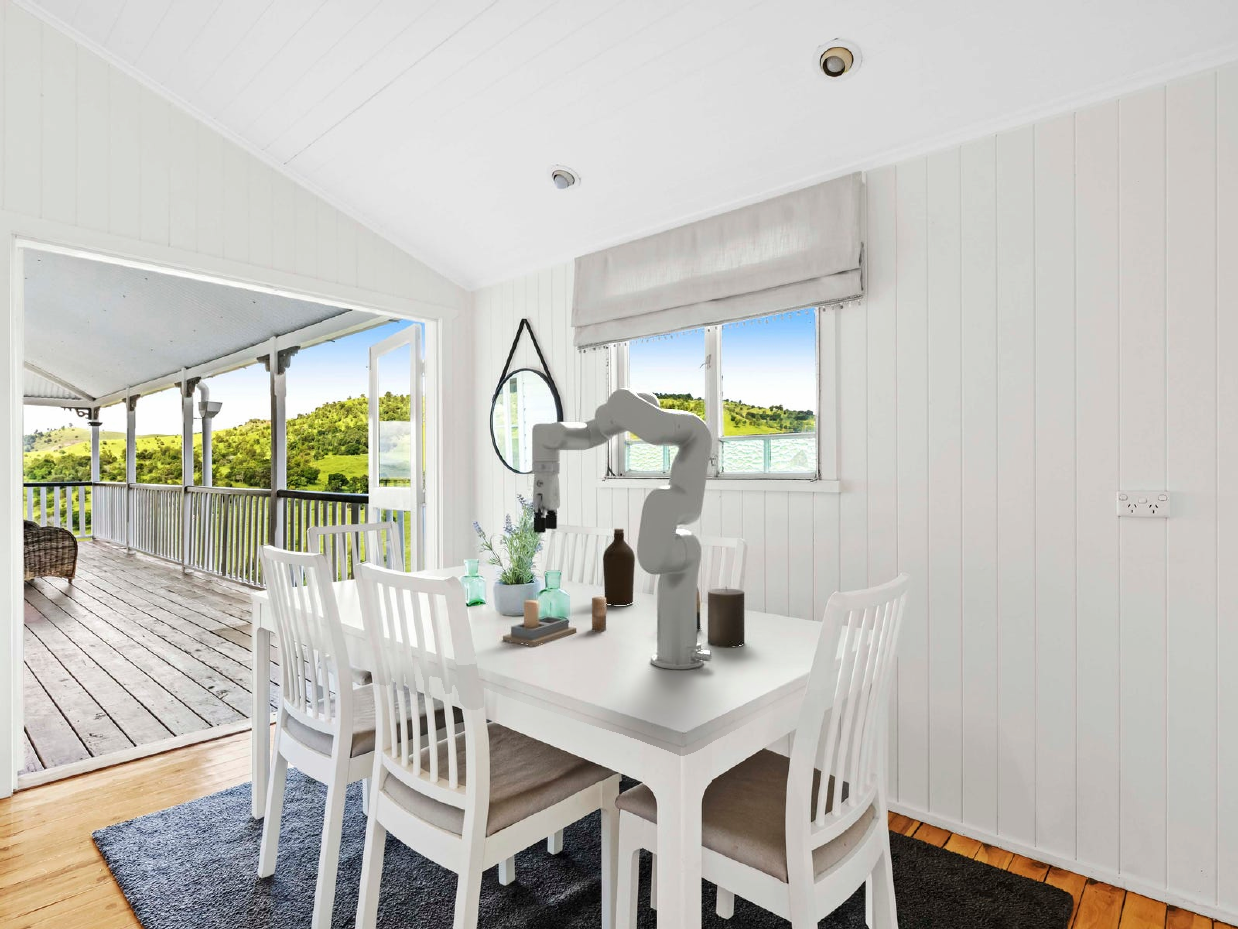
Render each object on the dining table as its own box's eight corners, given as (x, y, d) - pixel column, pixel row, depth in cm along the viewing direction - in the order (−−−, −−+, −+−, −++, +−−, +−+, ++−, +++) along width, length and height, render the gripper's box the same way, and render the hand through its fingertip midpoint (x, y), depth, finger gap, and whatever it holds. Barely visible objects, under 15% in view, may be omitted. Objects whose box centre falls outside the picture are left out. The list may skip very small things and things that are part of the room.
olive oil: (633, 607, 232) (633, 530, 232) (601, 607, 233) (601, 530, 233) (635, 601, 243) (635, 527, 243) (604, 600, 244) (604, 527, 244)
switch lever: (608, 629, 203) (608, 597, 203) (600, 632, 200) (600, 600, 199) (597, 627, 205) (597, 596, 205) (589, 630, 202) (589, 598, 202)
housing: (576, 632, 199) (576, 596, 199) (534, 646, 184) (534, 607, 184) (545, 627, 205) (545, 591, 205) (502, 640, 190) (502, 602, 190)
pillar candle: (743, 648, 182) (744, 590, 182) (705, 646, 184) (706, 588, 184) (744, 639, 192) (745, 584, 192) (708, 637, 194) (709, 582, 194)
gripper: (548, 469, 187) (548, 534, 187) (568, 468, 204) (567, 528, 204) (521, 469, 189) (521, 533, 189) (543, 467, 205) (542, 527, 206)
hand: (545, 530), depth 196 cm, fingers open, 9 cm apart
